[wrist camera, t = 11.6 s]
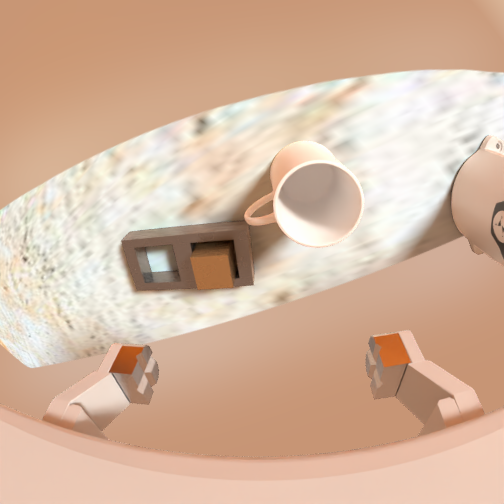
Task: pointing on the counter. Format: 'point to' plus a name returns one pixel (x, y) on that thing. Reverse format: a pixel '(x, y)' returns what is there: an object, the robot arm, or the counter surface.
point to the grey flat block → (186, 253)
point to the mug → (311, 196)
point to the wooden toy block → (214, 264)
